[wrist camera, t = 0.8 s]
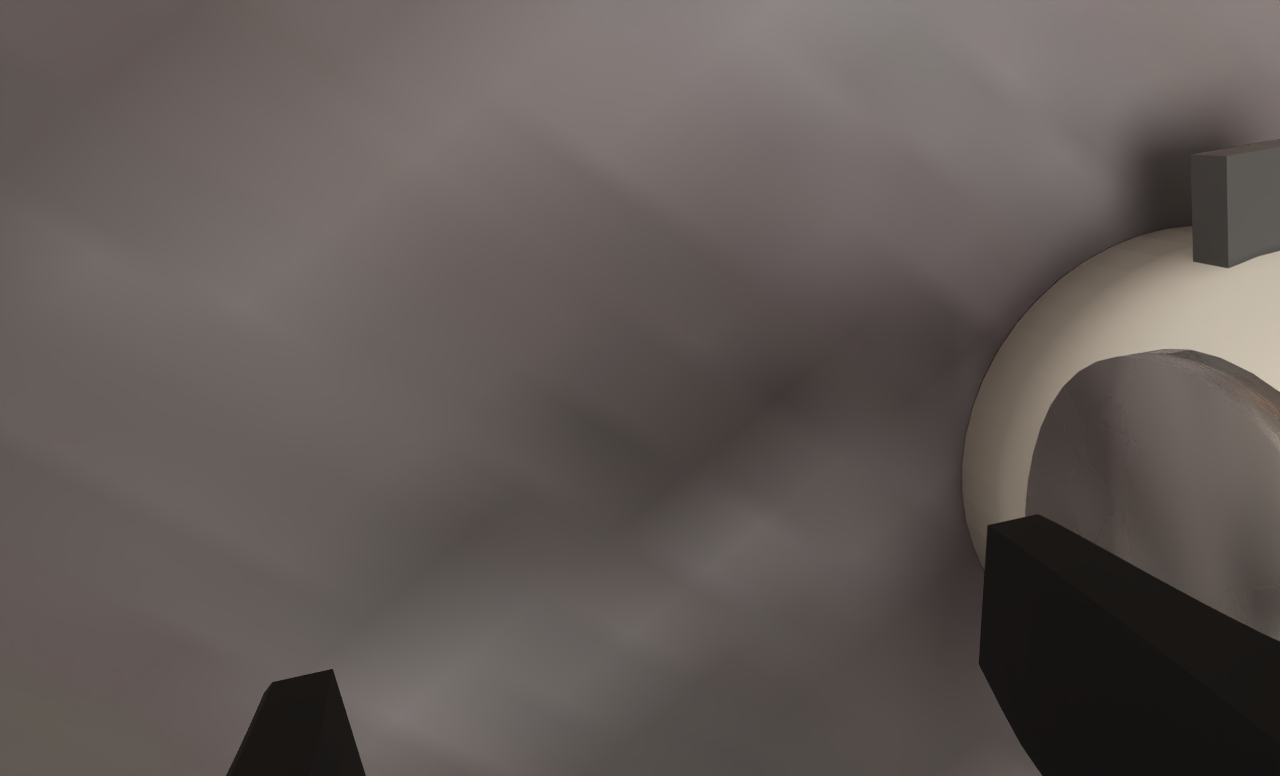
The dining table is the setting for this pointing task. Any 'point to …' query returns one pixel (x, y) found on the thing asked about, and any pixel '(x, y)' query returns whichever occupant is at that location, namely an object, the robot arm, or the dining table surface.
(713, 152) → the dining table surface
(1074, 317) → the pot
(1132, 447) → the lid
